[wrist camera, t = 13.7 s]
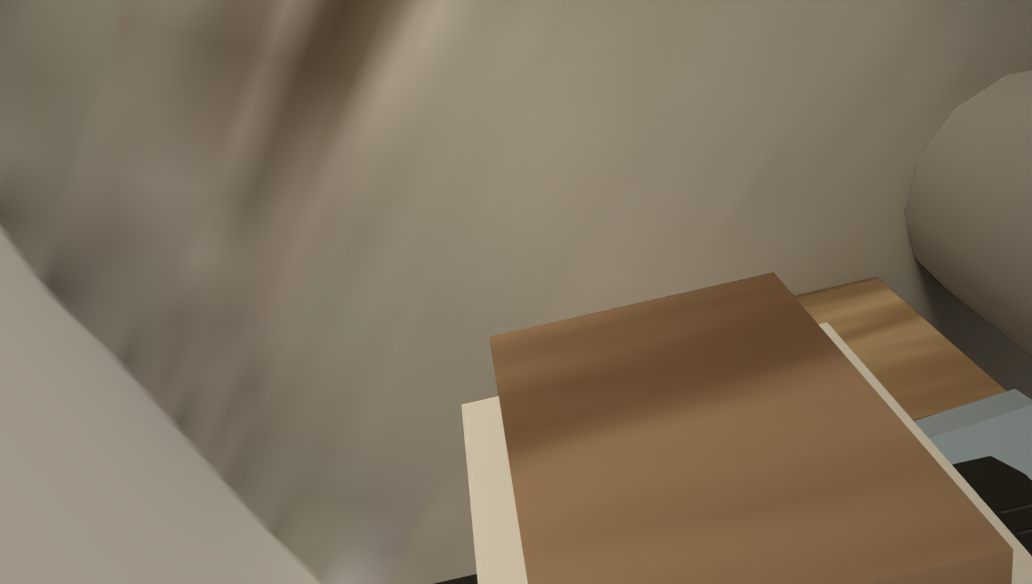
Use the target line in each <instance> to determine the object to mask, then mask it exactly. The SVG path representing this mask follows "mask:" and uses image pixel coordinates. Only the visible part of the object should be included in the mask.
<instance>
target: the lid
mask: <svg viewBox="0 0 1032 584" xmlns="http://www.w3.org/2000/svg"><path fill="white" fill-rule="evenodd" d="M914 422H915V423H916V424H917V426H918V427H919V428H920V429H921V430H922V431H923V432H924V434H925V435H926V436H927V437H928V438H929V439H930V440H931V442H932V443H933V444H934V445H935V446H936V447H937V448H938V450H939V451H940V452H941V453H942V454H943V455H944V456H945V458H946V459H947V460H948V461H949V462H950V463H951V464H956V463H960V462H965V461H969V460H974V459H978V458H982V457H987V456H992V457H994V458H996V459H998V460H1000V461H1002V462H1004V463H1006V464H1007V465H1009V466H1011V467H1013V468H1015V469H1017V470H1019V471H1021V472H1022V473H1024V474H1026V475H1027V476H1028V477H1029V478H1030V479H1031V480H1032V400H1031V399H1030V398H1028V397H1027V396H1025V395H1024V394H1022V393H1021V392H1019V391H1018V390H1016V389H1013V390H1010V391H1006V392H1003V393H1000V394H997V395H994V396H991V397H988V398H985V399H982V400H978V401H975V402H972V403H969V404H966V405H963V406H960V407H957V408H954V409H951V410H947V411H944V412H941V413H938V414H935V415H932V416H929V417H926V418H923V419H919V420H916V421H914Z"/></svg>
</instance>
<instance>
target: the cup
mask: <svg viewBox="0 0 1032 584" xmlns="http://www.w3.org/2000/svg"><path fill="white" fill-rule="evenodd" d="M904 212H905V216H906V221H907V225H908V230H909V234H910V238H911V243H912V247H913V252H914V256H915V258H916V259H917V260H918V261H919V262H920V263H921V264H922V265H923V266H924V267H925V268H926V269H927V270H928V271H929V272H930V273H931V274H932V275H933V276H934V277H935V278H936V279H937V280H938V281H939V282H940V283H941V284H942V285H943V287H944V288H946V289H947V290H948V291H949V292H951V293H952V294H953V295H954V296H956V297H957V298H958V299H960V300H961V301H962V302H963V303H965V304H966V305H967V306H968V307H970V308H971V309H972V310H974V311H975V312H976V313H977V314H979V315H980V316H981V317H982V318H984V319H985V320H986V321H988V322H989V323H990V324H991V325H993V326H994V327H995V328H996V329H998V330H999V331H1000V332H1001V333H1003V334H1004V335H1005V336H1007V337H1008V338H1009V339H1010V340H1012V341H1013V342H1014V343H1015V344H1017V345H1018V346H1019V347H1021V348H1022V349H1023V350H1024V351H1026V352H1027V353H1028V354H1029V355H1031V356H1032V70H1028V71H1023V72H1018V73H1013V74H1007V75H1005V76H1003V77H1002V78H1000V79H999V80H997V81H996V82H994V83H993V84H991V85H990V86H988V87H987V88H985V89H984V90H982V91H980V92H979V93H977V94H976V95H974V96H973V97H971V98H970V99H968V100H967V101H965V102H964V103H962V104H961V105H959V106H958V107H956V108H955V109H954V110H953V111H952V112H951V114H950V115H949V116H948V118H947V119H946V121H945V122H944V123H943V125H942V126H941V127H940V129H939V130H938V132H937V133H936V134H935V136H934V137H933V138H932V140H931V141H930V142H929V144H928V145H927V147H926V148H925V149H924V151H923V152H922V153H921V155H920V156H919V158H918V160H917V164H916V168H915V172H914V176H913V180H912V184H911V188H910V192H909V195H908V199H907V203H906V207H905V211H904Z"/></svg>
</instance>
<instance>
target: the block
mask: <svg viewBox="0 0 1032 584" xmlns="http://www.w3.org/2000/svg"><path fill="white" fill-rule="evenodd" d="M490 344H491V350H492V357H493V363H494V369H495V376H496V382H497V389H498V395H499V401H500V408H501V414H502V421H503V427H504V434H505V440H506V446H507V453H508V459H509V466H510V472H511V479H512V485H513V491H514V498H515V504H516V511H517V517H518V524H519V530H520V536H521V543H522V549H523V556H524V562H525V569H526V575H527V581H528V584H1012V565H1013V548H1012V547H1011V546H1010V545H1009V544H1008V543H1007V541H1006V540H1005V539H1004V538H1003V537H1002V536H1001V535H1000V533H999V532H998V531H997V530H996V529H995V528H994V526H993V525H992V524H991V523H990V522H989V521H988V520H987V518H986V517H985V516H984V515H983V514H982V513H981V511H980V510H979V509H978V508H977V507H976V506H975V505H974V503H973V502H972V501H971V500H970V499H969V498H968V496H967V495H966V494H965V493H964V492H963V491H962V490H961V488H960V487H959V486H958V485H957V484H956V483H955V481H954V480H953V479H952V478H951V477H950V476H949V475H948V473H947V472H946V471H945V470H944V469H943V468H942V467H941V465H940V464H939V463H938V462H937V461H936V460H935V458H934V457H933V456H932V455H931V454H930V453H929V452H928V450H927V449H926V448H925V447H924V446H923V445H922V443H921V442H920V441H919V440H918V439H917V438H916V437H915V435H914V434H913V433H912V432H911V431H910V430H909V428H908V427H907V426H906V425H905V424H904V423H903V422H902V420H901V419H900V418H899V417H898V416H897V415H896V413H895V412H894V411H893V410H892V409H891V408H890V407H889V405H888V404H887V403H886V402H885V401H884V400H883V398H882V397H881V396H880V395H879V394H878V393H877V392H876V390H875V389H874V388H873V387H872V386H871V385H870V383H869V382H868V381H867V380H866V379H865V378H864V377H863V375H862V374H861V373H860V372H859V371H858V370H857V368H856V367H855V366H854V365H853V364H852V363H851V362H850V360H849V359H848V358H847V357H846V356H845V355H844V353H843V352H842V351H841V350H840V349H839V348H838V347H837V345H836V344H835V343H834V342H833V341H832V340H831V338H830V337H829V336H828V335H827V334H826V333H825V332H824V330H823V329H822V328H821V327H820V326H819V325H818V323H817V322H816V321H815V320H814V319H813V318H812V317H811V315H810V314H809V313H808V312H807V311H806V310H805V308H804V307H803V306H802V305H801V304H800V303H799V302H798V300H797V299H796V298H795V297H794V296H793V295H792V293H791V292H790V291H789V290H788V289H787V288H786V287H785V285H784V284H783V283H782V282H781V281H780V280H779V278H778V277H777V276H776V275H775V274H774V273H769V274H765V275H760V276H756V277H751V278H747V279H743V280H738V281H734V282H729V283H725V284H720V285H716V286H712V287H707V288H703V289H698V290H694V291H690V292H685V293H681V294H676V295H672V296H668V297H663V298H659V299H654V300H650V301H646V302H641V303H637V304H632V305H628V306H623V307H619V308H615V309H610V310H606V311H601V312H597V313H593V314H588V315H584V316H579V317H575V318H571V319H566V320H562V321H557V322H553V323H548V324H544V325H540V326H535V327H531V328H526V329H522V330H518V331H513V332H509V333H504V334H500V335H496V336H491V337H490Z"/></svg>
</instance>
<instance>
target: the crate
mask: <svg viewBox="0 0 1032 584" xmlns="http://www.w3.org/2000/svg"><path fill="white" fill-rule="evenodd" d="M794 297H795V298H796V299H797V300H798V302H799V303H800V304H801V305H802V306H803V307H804V308H805V310H806V311H807V312H808V313H809V314H810V315H811V317H812V318H813V319H814V320H815V321H816V322H817V323H818V324H822V323H826V322H827V323H828V324H829V325H830V326H831V327H832V328H833V330H834V331H835V332H836V333H837V334H838V335H839V336H840V338H841V339H842V340H843V341H844V342H845V343H846V344H847V346H848V347H849V348H850V349H851V350H852V351H853V352H854V354H855V355H856V356H857V357H858V358H859V359H860V360H861V362H862V363H863V364H864V365H865V366H866V367H867V368H868V370H869V371H870V372H871V373H872V374H873V375H874V376H875V378H876V379H877V380H878V381H879V382H880V383H881V384H882V386H883V387H884V388H885V389H886V390H887V391H888V392H889V394H890V395H891V396H892V397H893V398H894V399H895V400H896V402H897V403H898V404H899V405H900V406H901V407H902V408H903V410H904V411H905V412H906V413H907V414H908V415H909V416H910V418H911V419H912V420H913V421H916V420H919V419H923V418H926V417H929V416H932V415H935V414H938V413H941V412H944V411H947V410H951V409H954V408H957V407H960V406H963V405H966V404H969V403H972V402H975V401H978V400H982V399H985V398H988V397H991V396H994V395H997V394H1000V393H1003V392H1006V390H1005V389H1004V388H1002V387H1001V386H1000V385H999V384H998V383H997V382H996V381H994V380H993V379H992V378H991V377H990V376H989V375H988V374H986V373H985V372H984V371H983V370H982V369H981V368H980V367H978V366H977V365H976V364H975V363H974V362H973V361H972V360H970V359H969V358H968V357H967V356H966V355H965V354H964V353H962V352H961V351H960V350H959V349H958V348H957V347H956V346H955V345H953V344H952V343H951V342H950V341H949V340H948V339H947V338H945V337H944V336H943V335H942V334H941V333H940V332H939V331H937V330H936V329H935V328H934V327H933V326H932V325H931V324H929V323H928V322H927V321H926V320H925V319H924V318H923V317H921V316H920V315H919V314H918V313H917V312H916V311H915V310H913V309H912V308H911V307H910V306H909V305H908V304H907V303H905V302H904V301H903V300H902V299H901V298H900V297H899V296H898V295H896V294H895V293H894V292H893V291H892V290H891V289H890V288H888V287H887V286H886V285H885V284H884V283H883V282H882V281H880V280H879V279H878V278H877V277H876V278H872V279H868V280H863V281H859V282H855V283H850V284H846V285H841V286H837V287H833V288H828V289H824V290H820V291H815V292H811V293H806V294H802V295H798V296H794Z"/></svg>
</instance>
